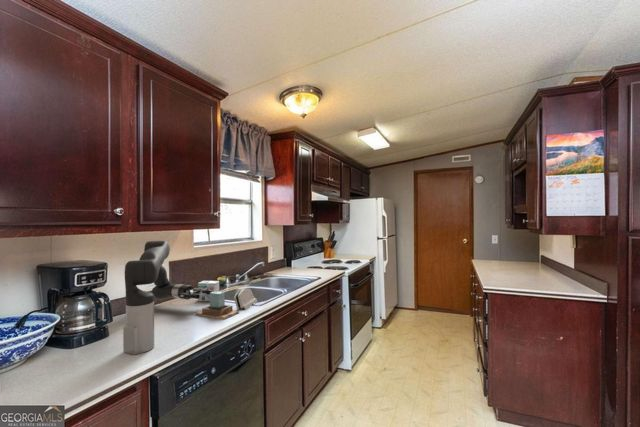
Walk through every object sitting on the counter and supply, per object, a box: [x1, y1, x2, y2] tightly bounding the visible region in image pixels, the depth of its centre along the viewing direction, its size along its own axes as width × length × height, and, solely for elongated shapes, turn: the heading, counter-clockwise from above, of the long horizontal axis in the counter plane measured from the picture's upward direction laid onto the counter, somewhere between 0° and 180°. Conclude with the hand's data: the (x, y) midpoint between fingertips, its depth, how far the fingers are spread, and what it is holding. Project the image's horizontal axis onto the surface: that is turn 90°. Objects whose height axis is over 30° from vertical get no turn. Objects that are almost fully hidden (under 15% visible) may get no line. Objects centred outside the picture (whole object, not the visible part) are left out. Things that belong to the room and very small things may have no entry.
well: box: [195, 304, 240, 320], centre depth 157 cm, size 11×18×4 cm, turn 66°
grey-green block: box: [209, 290, 226, 310], centre depth 157 cm, size 4×6×10 cm, turn 66°
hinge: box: [233, 288, 258, 311], centre depth 173 cm, size 17×5×10 cm, turn 169°
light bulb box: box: [197, 280, 220, 302], centre depth 186 cm, size 11×7×11 cm, turn 83°
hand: (205, 294), depth 161 cm, fingers open, 8 cm apart
